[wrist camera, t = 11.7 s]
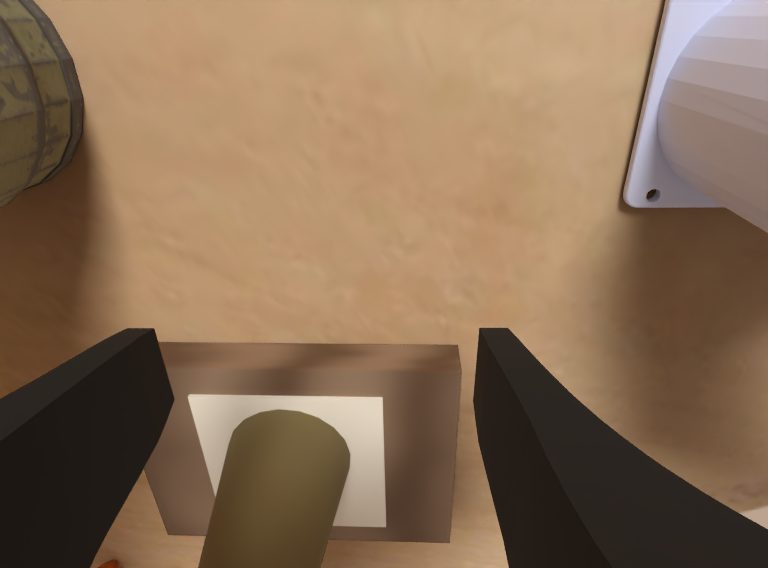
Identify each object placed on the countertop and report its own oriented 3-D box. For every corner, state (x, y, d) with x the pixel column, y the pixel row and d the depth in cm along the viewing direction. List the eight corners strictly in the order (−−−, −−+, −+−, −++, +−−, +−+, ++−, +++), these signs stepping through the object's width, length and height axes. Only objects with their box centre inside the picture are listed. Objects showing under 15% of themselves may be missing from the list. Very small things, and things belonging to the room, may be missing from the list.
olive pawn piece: (370, 481, 25) (345, 777, 15) (266, 507, 26) (183, 794, 16) (317, 394, 22) (246, 686, 12) (205, 428, 23) (63, 716, 14)
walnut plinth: (457, 345, 23) (462, 374, 21) (447, 511, 29) (449, 546, 27) (128, 342, 24) (104, 370, 22) (182, 504, 30) (166, 538, 28)
